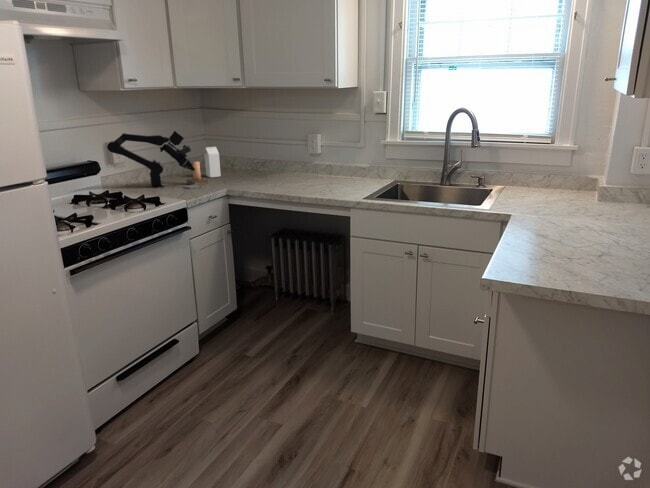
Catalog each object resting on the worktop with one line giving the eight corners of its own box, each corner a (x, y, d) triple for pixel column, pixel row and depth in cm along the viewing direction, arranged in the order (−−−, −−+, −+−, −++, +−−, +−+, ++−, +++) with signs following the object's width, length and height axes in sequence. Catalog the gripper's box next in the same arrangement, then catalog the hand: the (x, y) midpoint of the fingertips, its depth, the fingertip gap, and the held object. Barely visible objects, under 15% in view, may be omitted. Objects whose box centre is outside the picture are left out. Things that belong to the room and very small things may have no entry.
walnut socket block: (187, 183, 300) (186, 179, 299) (200, 181, 306) (199, 177, 305) (195, 185, 294) (194, 181, 293) (208, 183, 300) (207, 179, 299)
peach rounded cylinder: (192, 183, 300) (190, 162, 296) (198, 182, 303) (196, 161, 299) (196, 184, 297) (194, 162, 293) (202, 183, 300) (200, 162, 296)
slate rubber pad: (183, 187, 289) (183, 186, 289) (194, 185, 294) (194, 184, 293) (190, 189, 284) (189, 187, 284) (200, 187, 289) (200, 186, 289)
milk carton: (220, 176, 323) (218, 147, 318) (210, 177, 319) (207, 147, 314) (216, 175, 329) (214, 146, 323) (206, 176, 325) (203, 146, 319)
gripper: (182, 142, 282) (204, 161, 288) (181, 139, 299) (202, 156, 305) (169, 157, 282) (191, 175, 288) (169, 153, 299) (190, 170, 305)
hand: (194, 169), depth 297 cm, fingers open, 9 cm apart
